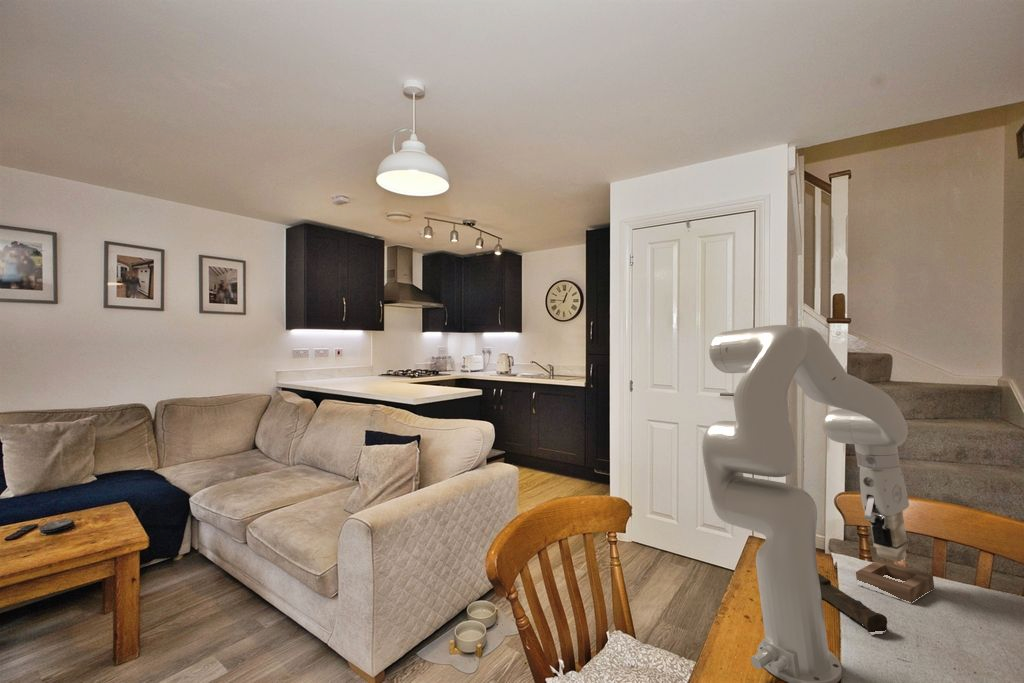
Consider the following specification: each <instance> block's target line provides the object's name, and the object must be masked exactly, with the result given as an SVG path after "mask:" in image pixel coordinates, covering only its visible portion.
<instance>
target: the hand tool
mask: <svg viewBox="0 0 1024 683" xmlns="http://www.w3.org/2000/svg"><path fill="white" fill-rule="evenodd" d="M818 576H819V583H820V590H821V598H822V601H827V602H828V603H830V604H831V605H833V606H834V607H835V608H836V609H838V610H839V611H841V612H843V613H844V614H845V615H847V616H848V615H849V616H848V617H850V618H851V617H852V618H854V619H855V620H857V621H858V622H860V623H861V624H863V625H864V626H865V627H864V626H863V627H864V628H866V629H867V632H868V633H869V632H875V631H885V630H887V629H888V619H887V616H885V615H884V614H883V613H880V612H876V611H874V610H872V609H871V608H869V607H868V606H866V605H865V604H863V603H862V601H860V600H856V599H855V598H853V597H851V596H850V595H848V594H847V593H845V592H843V591H842V590H840V589H839V588H837V587H836V586H834V585H833V584H832V582H831V580H830V579H828V578H827V577H825V576H824V575H822V574H821V573H819V572H818ZM852 618H851V619H852ZM854 619H853V620H854ZM855 620H854V621H855ZM857 621H856V622H857ZM858 622H857V623H858ZM860 623H859V624H860ZM861 624H860V625H861ZM887 631H888V630H887Z"/></svg>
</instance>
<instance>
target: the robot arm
mask: <svg viewBox="0 0 1024 683" xmlns="http://www.w3.org/2000/svg"><path fill="white" fill-rule="evenodd" d="M708 350H709V351H708V354H709V358H710V361H711V362H712V365H713V366H714V367H715V368H716V369H717V370H718V371H720V372H721V373H725V374H743V373H744V374H743V376H742V377H741V379H740V380H739V382H738V384H737V385H736V388H735V391H734V394H733V406H734V414H735V420H720V421H716V422H714V423H712V424H711V425H709V427H707V429H706V430H705V432H704V435H703V438H702V444H701V445H702V447H701V448H702V449H701V450H702V458H703V464H704V468H705V469H704V470H705V475H706V480H707V481H706V482H707V485H708V486H707V487H708V492H709V496H710V502H711V506H712V508H713V511H714V513H715V514H716V516H717V517H718V519H719V520H721V521H722V522H723V523H726V524H728V525H730V526H731V525H732V526H734V527H738V528H741V529H745V530H749V531H752V532H755V533H758V534H761V535H763V536H765V541H764V543H763V544H762V545H761V546H760V547H759V549H758V550H757V552H756V556H755V566H756V573H757V582H758V591H759V597H760V605H761V614H762V621H763V622H762V623H763V629H764V630H763V631H764V638H762V641H760V643H759V644H758V646H757V653H756V654H754V655H752V656H751V657H750V662H751V664H752V666H753V667H754V668H755V669H756V670H761V669H762V668H764V669H766V670H767V672H769V673H770V674H772V675H773V676H775V677H776V678H778V679H780V680H782V681H784V682H787V683H839V682H840V680H841V679H842V676H843V669H842V665H841V664H842V663H841V662H840V660H839V659H838V657H837V656H836V655H835V654H834V653H833V652H832V651H830V650H829V645H828V638H827V637H828V636H827V630H826V624H825V615H824V607H823V600H822V598H821V590H820V583H819V576H818V573H819V569H818V561H817V548H816V543H817V542H816V539H817V525H818V523H817V521H818V511H817V508H818V507H817V505H816V502H815V500H814V498H813V497H812V496H811V495H810V494H809V493H808V491H806V490H804V489H802V488H801V487H798V486H796V485H793V484H790V483H786V482H781V481H777V480H776V481H775V480H769V479H765V478H758V477H757V478H756V477H748V476H744V474H748V475H753V476H754V475H755V476H760V477H767V478H768V477H770V478H784V477H787V476H789V475H791V474H792V473H793V472H794V471H795V469H796V465H797V454H796V446H795V441H794V440H795V439H794V435H793V429H792V425H791V417H790V412H789V411H790V410H789V404H788V392H789V388H790V386H791V385H790V384H791V383H792V380H793V379H794V381H795V382H796V383H797V385H798V386H799V387H800V389H801V390H802V391H803V393H804V394H805V395H806V396H807V397H808V399H811V400H812V401H814V402H818V403H820V404H823V405H827V406H828V407H829V406H830V407H834V408H836V409H833V410H831V411H829V412H827V413H826V415H825V416H824V418H823V420H822V430H823V432H824V435H825V436H826V437H827V438H828V439H830V440H831V441H833V442H835V443H838V444H839V443H841V444H849V445H854V451H855V456H856V462H857V467H859V488H860V489H859V490H860V498H861V503H862V504H861V505H862V508H863V510H864V516H863V517H864V519H865V520H867V521H868V522H869V526H870V525H871V526H872V530H873V537H874V543H875V544H878V545H882V546H886V547H889V548H890V547H892V540H891V533H890V529H888V528H887V517H890V516H893V515H895V514H897V513H899V512H901V511H902V512H903V511H905V510H907V509H908V508H909V506H910V502H909V496H908V491H907V486H906V482H905V477H904V474H903V472H902V468H901V464H900V457H899V451H898V447H899V446H902V444H904V443H906V440H907V437H908V433H909V431H908V429H909V428H908V423H907V421H906V419H905V416H904V415H903V413H902V411H901V410H900V408H899V407H898V405H897V403H896V402H895V401H894V399H893V398H892V397H891V396H890V395H889V394H888V393H886V392H885V391H884V390H882V389H880V388H879V387H876V386H875V385H873V384H871V383H868V382H866V381H864V380H863V379H860V378H858V377H857V376H854V375H851V374H848V372H847V371H846V370H845V368H844V367H843V366H842V364H841V363H840V361H839V359H838V358H837V356H836V355H835V354H834V352H833V350H832V349H831V348H830V346H829V344H828V343H827V342H826V340H825V339H824V337H823V336H822V335H821V333H819V331H817V330H816V329H814V328H812V327H808V326H794V325H792V324H791V325H790V324H789V325H788V324H774V325H765V326H757V327H756V326H755V327H750V328H743V329H735V330H730V331H729V330H728V331H722V332H720V333H718V334H716V335H715V337H713V338H712V340H711V342H710V344H709V348H708ZM875 510H879V512H880V513H878V512H875ZM876 516H881V517H882V521H881V520H880V519H879V518H876ZM871 526H870V527H871Z"/></svg>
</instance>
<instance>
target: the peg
mask: <svg viewBox="0 0 1024 683" xmlns="http://www.w3.org/2000/svg"><path fill="white" fill-rule="evenodd" d="M875 512H878V513H880V512H879V510H875ZM903 513H904V512H903V511H901V512H899V513H897V514H895V515H893V516H890V517H887V528H888V529H890V533H891V540H892V547H890V548H889V547H886V546H882V545H878V544H875V543H874V537H873V530H872V526H871V525H870V524H869V526H870V533H871V539H872V545H873V548H875V549H876V554H877V555H876V556H877V557H879V558H882V559H887V560H890V561H894V562H896V563H899V562H901V561H902V560H903V559H906V558H907V551H906V550H907V549H909V547H908V546H909V542H908V539H907V533H906V527H905V520H904V514H903ZM876 518H879V519H880V520H881V521H882V517H881V516H876Z"/></svg>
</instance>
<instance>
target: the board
mask: <svg viewBox="0 0 1024 683" xmlns="http://www.w3.org/2000/svg"><path fill="white" fill-rule="evenodd" d="M884 575H888V576H890V577H892V578H895V579H900V580H902V581H905V582H903V583H902V582H898V581H895V580H892V579H889V578H886V577H883V576H884ZM855 576H856V577H855V578H856V581H857V580H859V581H862V582H864V583H868V584H870V585H873V586H875V587H878V588H879V589H881V590H883V591H886V592H888V593H890V594H892V595H894V596H896V597H898V598H900V599H903V600H906V601H909V602H911V603H912V602H913V601H915V600H916V599H918V598H919V597H921V596H922V595H924V594H925V593H927V592H929V591H931V590H933V589H936V588H935V583H934V576H933V574H930V573H925V572H923V571H920V570H916V569H913V568H909V567H906V566H903V565H899V564H896V563H893V562H888V561H885V560H882V559H878V560H876V561H874V562H872V563H870V564H868V565H866V566H864V567H863V568H861V569H859V570H856V571H855ZM933 591H934V590H933Z"/></svg>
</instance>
